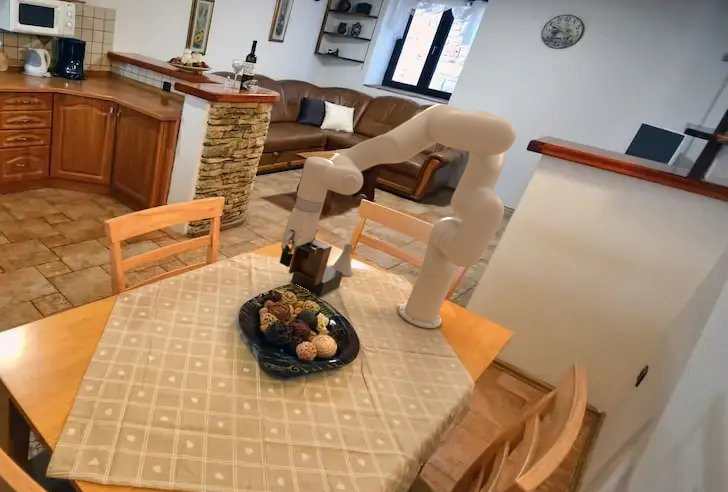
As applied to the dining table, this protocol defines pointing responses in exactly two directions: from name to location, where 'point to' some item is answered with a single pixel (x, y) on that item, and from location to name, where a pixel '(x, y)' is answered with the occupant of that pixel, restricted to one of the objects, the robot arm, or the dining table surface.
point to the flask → (344, 261)
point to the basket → (311, 261)
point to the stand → (328, 283)
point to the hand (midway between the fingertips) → (293, 261)
